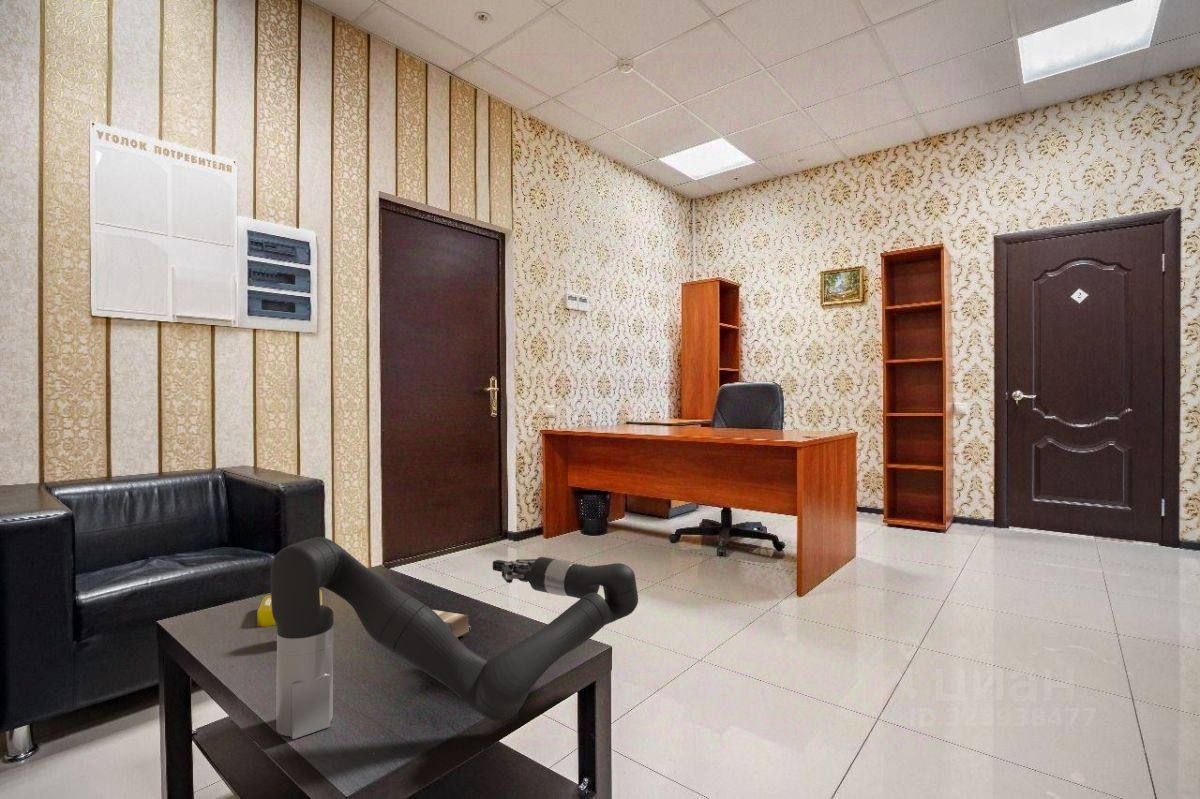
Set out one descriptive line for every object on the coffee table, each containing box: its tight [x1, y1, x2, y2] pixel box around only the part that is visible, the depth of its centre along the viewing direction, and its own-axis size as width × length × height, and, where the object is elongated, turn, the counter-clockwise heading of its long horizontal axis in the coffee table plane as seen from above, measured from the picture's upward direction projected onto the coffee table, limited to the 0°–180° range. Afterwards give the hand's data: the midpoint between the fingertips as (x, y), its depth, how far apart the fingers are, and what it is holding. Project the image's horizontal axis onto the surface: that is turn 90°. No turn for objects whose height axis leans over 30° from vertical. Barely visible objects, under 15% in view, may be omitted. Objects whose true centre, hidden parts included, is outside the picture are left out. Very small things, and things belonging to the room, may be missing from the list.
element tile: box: [256, 589, 323, 628], centre depth 159 cm, size 15×15×5 cm
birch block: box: [432, 609, 470, 638], centre depth 145 cm, size 4×6×14 cm
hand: (494, 564), depth 137 cm, fingers closed
